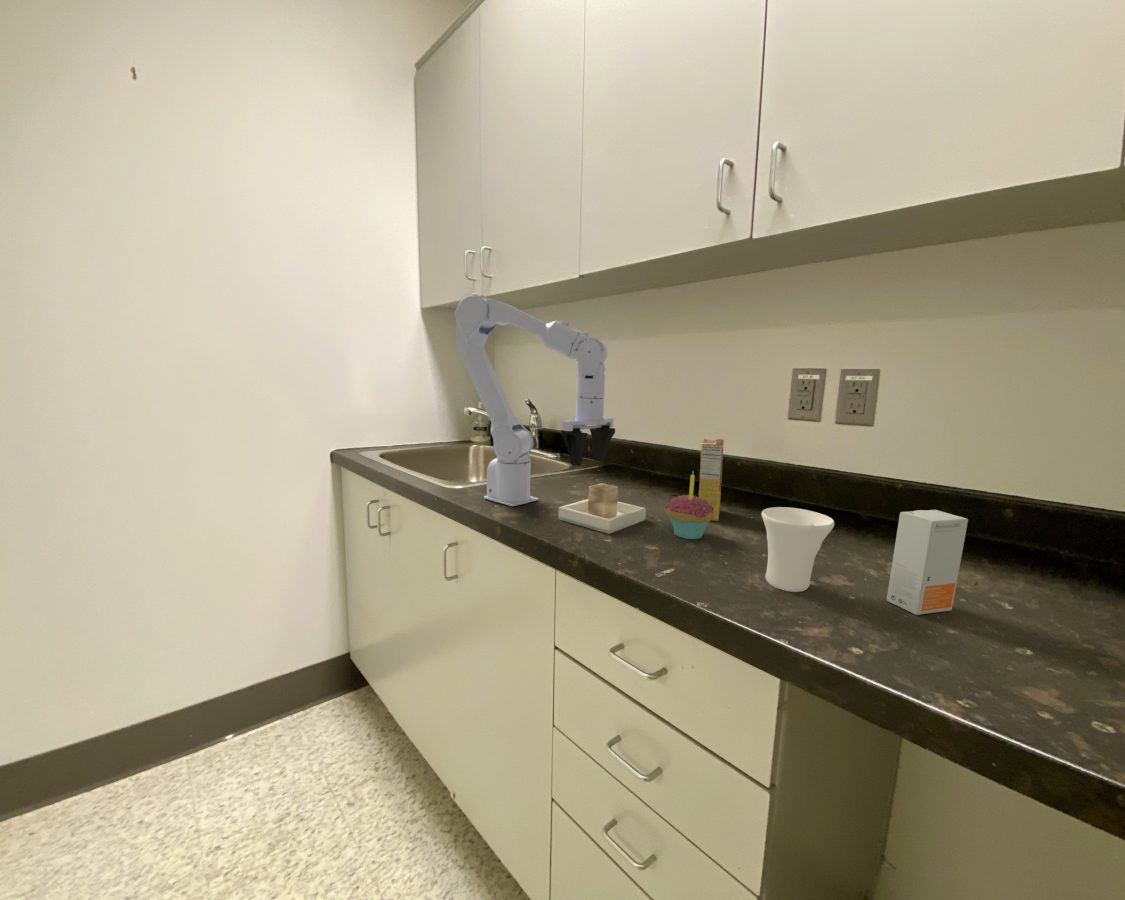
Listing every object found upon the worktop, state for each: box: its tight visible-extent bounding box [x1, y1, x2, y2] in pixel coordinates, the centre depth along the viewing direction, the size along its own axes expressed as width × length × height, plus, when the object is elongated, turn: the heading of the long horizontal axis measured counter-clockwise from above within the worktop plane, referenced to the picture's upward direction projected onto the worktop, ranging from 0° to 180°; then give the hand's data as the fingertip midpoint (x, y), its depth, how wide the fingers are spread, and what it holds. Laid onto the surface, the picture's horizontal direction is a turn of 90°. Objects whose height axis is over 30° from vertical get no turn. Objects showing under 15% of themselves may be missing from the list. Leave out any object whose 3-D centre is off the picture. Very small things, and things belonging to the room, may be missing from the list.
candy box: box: [698, 438, 725, 522], centre depth 98 cm, size 9×4×15 cm, turn 160°
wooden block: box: [587, 483, 619, 519], centre depth 93 cm, size 4×4×6 cm
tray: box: [557, 498, 647, 535], centre depth 93 cm, size 12×12×2 cm
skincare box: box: [886, 509, 969, 616], centre depth 60 cm, size 6×4×12 cm
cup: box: [761, 506, 835, 593], centre depth 66 cm, size 9×9×10 cm
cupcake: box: [664, 470, 714, 540], centre depth 85 cm, size 9×8×12 cm
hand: (587, 463), depth 101 cm, fingers open, 7 cm apart
